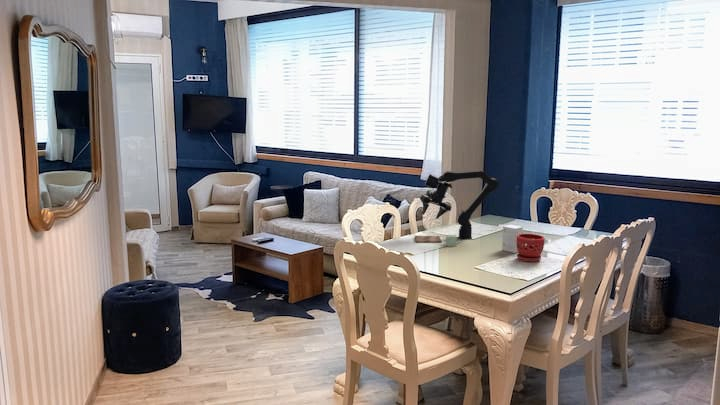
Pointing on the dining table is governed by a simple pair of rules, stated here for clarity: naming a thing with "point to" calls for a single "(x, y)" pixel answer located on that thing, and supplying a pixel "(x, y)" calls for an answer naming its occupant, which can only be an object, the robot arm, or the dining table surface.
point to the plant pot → (530, 247)
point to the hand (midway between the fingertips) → (429, 216)
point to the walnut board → (428, 239)
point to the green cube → (451, 240)
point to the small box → (510, 238)
